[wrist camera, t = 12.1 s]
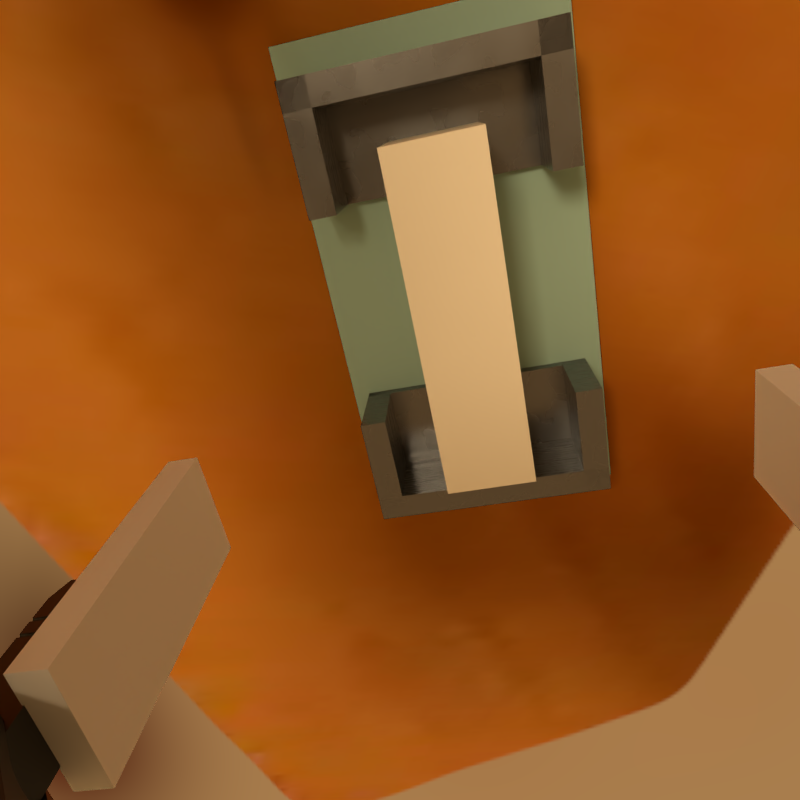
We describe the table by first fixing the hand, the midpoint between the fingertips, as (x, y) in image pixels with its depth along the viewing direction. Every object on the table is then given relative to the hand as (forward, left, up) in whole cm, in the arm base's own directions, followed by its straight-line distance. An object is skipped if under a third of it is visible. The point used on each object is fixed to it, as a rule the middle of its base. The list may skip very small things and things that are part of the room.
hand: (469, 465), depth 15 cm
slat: (+1, 0, -18) cm, 18 cm away
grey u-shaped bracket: (-7, 0, -18) cm, 20 cm away
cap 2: (+8, 0, -18) cm, 20 cm away
